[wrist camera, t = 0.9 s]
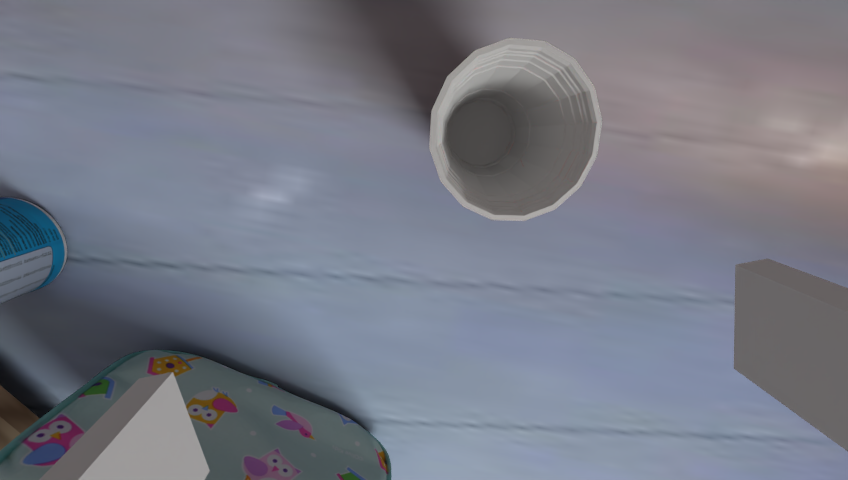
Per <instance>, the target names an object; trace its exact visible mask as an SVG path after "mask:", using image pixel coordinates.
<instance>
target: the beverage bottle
mask: <svg viewBox="0 0 848 480" xmlns="http://www.w3.org/2000/svg"><path fill="white" fill-rule="evenodd" d="M66 259H67V244H66V240H65V237H64V234H63V232H62V230H61V228H60V226H59V225H58V224H57V222H56V221H55V220H54V219H53V218H52V217H51V216H50V215H49V214H48V213H47V212H46V211H45V210H43V209H42V208H40V207H38V206H37V205H35V204H33V203H31V202H28V201H25V200H22V199H17V198H10V197H0V304H1V303H4V302H6V301H8V300H10V299H13V298H15V297H17V296H20V295H22V294H25V293H29V292H32V291H35V290H37V289H39V288H42V287H44V286H46V285H48V284H49V283H51V282H52V281H53V280H55V279H56V278H57V277H58V275H59V274H60V273H61V271H62V270H63V268H64V265H65V263H66Z"/></svg>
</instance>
